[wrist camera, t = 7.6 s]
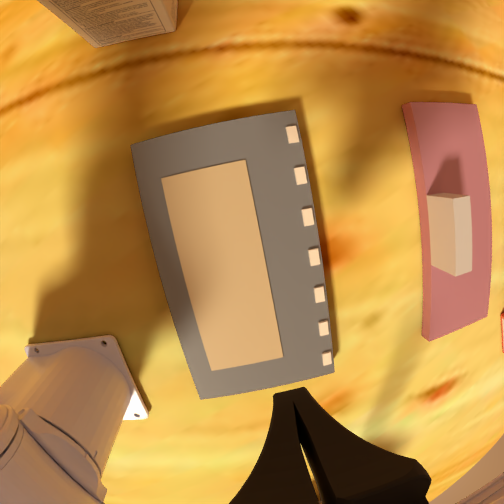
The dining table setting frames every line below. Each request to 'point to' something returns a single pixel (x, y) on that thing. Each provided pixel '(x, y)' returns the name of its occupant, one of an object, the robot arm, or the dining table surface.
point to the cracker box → (503, 323)
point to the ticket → (238, 252)
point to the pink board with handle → (451, 213)
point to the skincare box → (115, 18)
